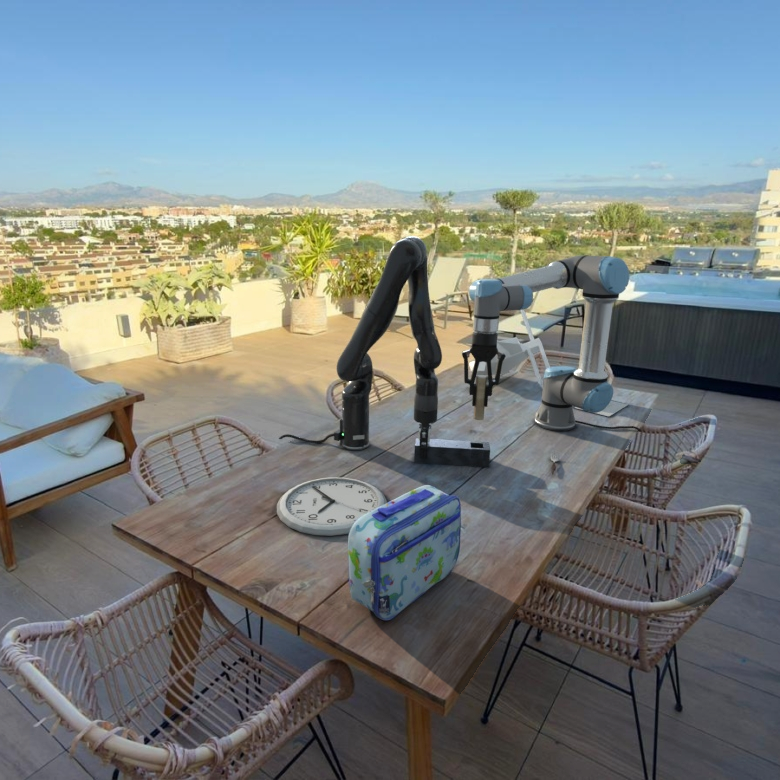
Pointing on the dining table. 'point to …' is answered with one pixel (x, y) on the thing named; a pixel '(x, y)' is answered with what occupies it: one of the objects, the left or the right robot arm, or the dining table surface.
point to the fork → (554, 461)
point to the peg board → (454, 453)
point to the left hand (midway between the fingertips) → (423, 454)
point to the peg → (480, 397)
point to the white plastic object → (515, 354)
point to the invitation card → (610, 408)
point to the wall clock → (328, 505)
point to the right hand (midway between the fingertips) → (479, 404)
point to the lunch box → (403, 549)
